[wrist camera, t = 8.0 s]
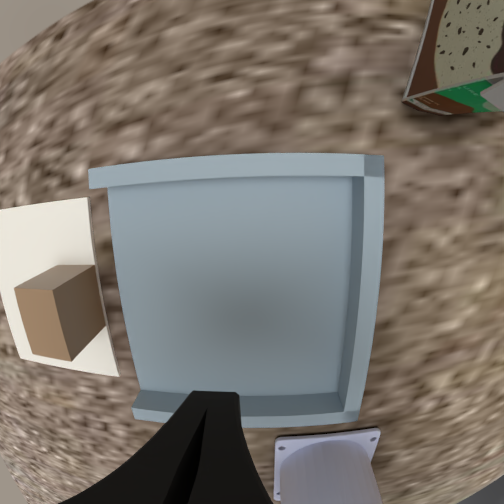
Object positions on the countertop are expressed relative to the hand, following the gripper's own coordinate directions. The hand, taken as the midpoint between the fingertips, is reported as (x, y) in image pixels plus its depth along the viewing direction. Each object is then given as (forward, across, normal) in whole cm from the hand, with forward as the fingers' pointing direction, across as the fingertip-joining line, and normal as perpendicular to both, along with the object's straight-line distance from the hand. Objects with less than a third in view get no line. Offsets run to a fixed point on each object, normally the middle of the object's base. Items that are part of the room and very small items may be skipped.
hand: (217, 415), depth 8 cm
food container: (+10, -14, -14) cm, 22 cm away
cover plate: (+10, +14, 0) cm, 17 cm away
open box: (+9, 0, 0) cm, 9 cm away
